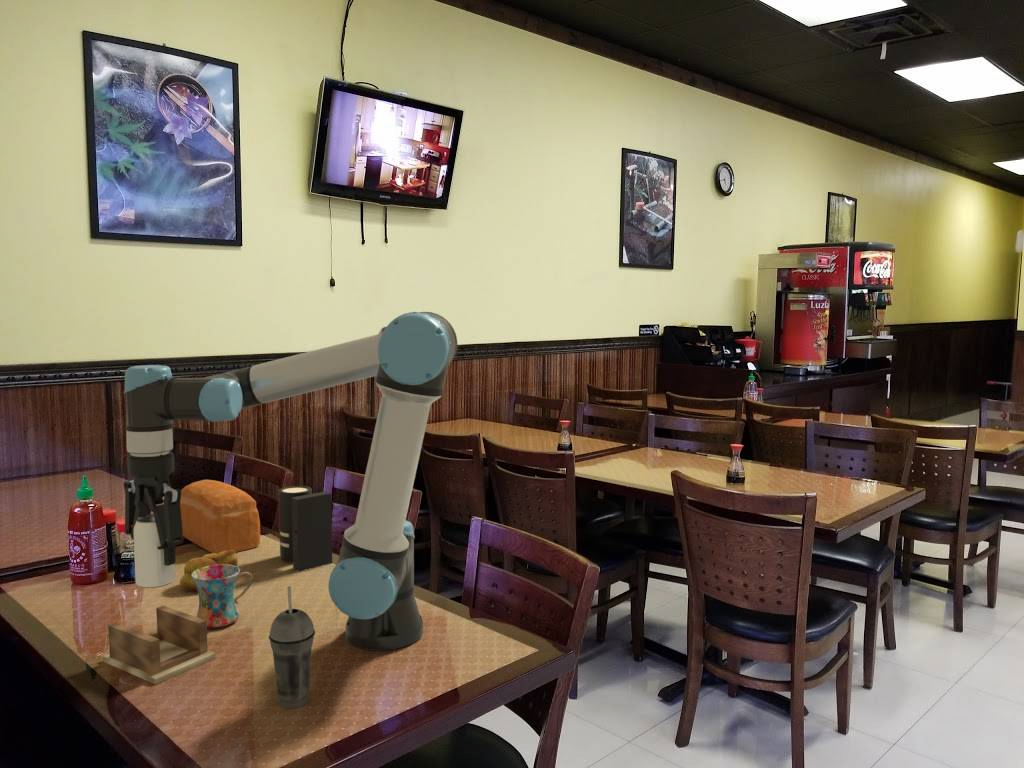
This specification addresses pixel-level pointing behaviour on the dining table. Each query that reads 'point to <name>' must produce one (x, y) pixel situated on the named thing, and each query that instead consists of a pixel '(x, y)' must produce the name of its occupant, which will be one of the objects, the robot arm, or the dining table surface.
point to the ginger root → (207, 560)
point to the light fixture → (305, 527)
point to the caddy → (160, 646)
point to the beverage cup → (292, 654)
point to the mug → (218, 593)
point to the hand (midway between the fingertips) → (155, 577)
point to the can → (146, 553)
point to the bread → (219, 517)
